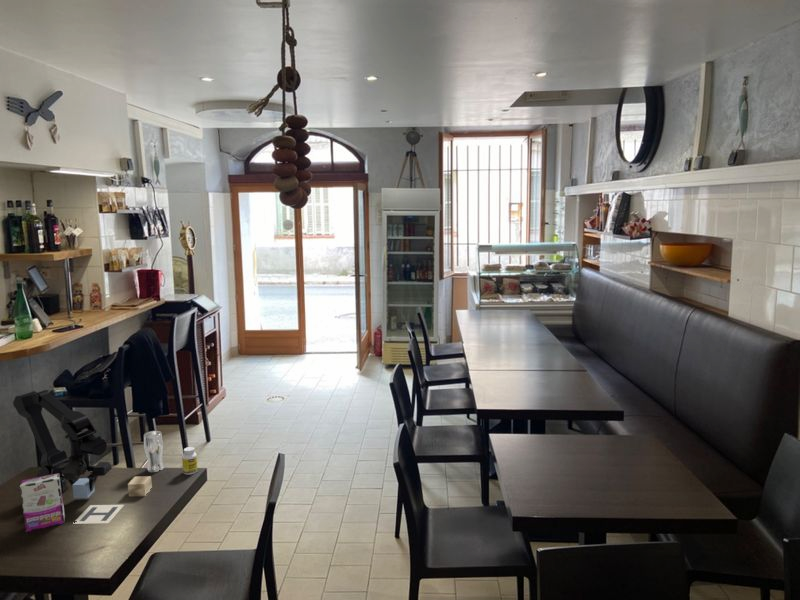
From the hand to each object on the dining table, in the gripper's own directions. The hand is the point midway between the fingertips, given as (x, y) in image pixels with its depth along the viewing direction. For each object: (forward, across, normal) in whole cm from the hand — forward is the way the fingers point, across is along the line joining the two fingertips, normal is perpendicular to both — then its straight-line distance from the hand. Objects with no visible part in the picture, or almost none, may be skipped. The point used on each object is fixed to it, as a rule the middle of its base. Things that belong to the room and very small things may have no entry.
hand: (84, 491), depth 211 cm
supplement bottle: (+4, +31, +21) cm, 38 cm away
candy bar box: (+4, -5, -16) cm, 17 cm away
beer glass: (+4, +16, +24) cm, 29 cm away
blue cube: (+1, 0, 0) cm, 1 cm away
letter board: (+3, +10, -10) cm, 14 cm away
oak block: (+4, +18, +5) cm, 19 cm away
